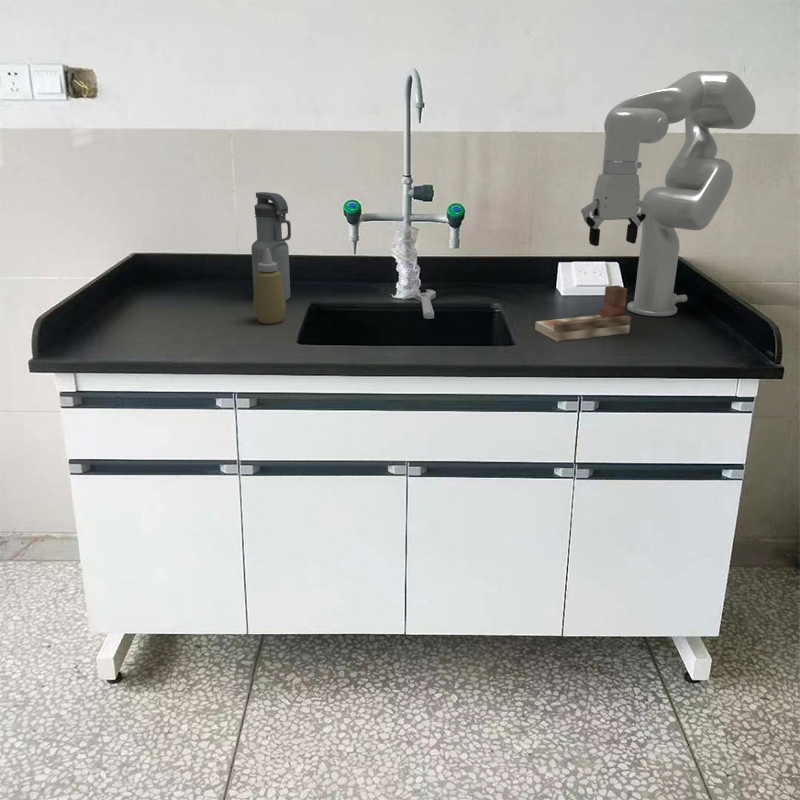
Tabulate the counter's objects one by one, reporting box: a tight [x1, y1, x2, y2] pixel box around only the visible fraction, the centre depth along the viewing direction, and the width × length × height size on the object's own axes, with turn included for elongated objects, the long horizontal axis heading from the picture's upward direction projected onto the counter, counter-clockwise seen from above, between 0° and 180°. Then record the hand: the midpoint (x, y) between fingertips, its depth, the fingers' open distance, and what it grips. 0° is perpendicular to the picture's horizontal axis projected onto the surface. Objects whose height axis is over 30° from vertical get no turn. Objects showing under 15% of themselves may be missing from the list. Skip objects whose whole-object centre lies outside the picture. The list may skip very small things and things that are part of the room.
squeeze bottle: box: [252, 248, 287, 325], centre depth 199 cm, size 8×8×18 cm
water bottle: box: [250, 191, 292, 302], centre depth 217 cm, size 10×10×28 cm
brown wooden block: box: [598, 284, 628, 318], centre depth 198 cm, size 4×6×8 cm, turn 21°
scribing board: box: [534, 314, 632, 342], centre depth 196 cm, size 20×10×4 cm, turn 111°
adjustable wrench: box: [413, 289, 436, 320], centre depth 218 cm, size 25×6×2 cm, turn 177°
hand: (612, 243), depth 192 cm, fingers open, 9 cm apart
